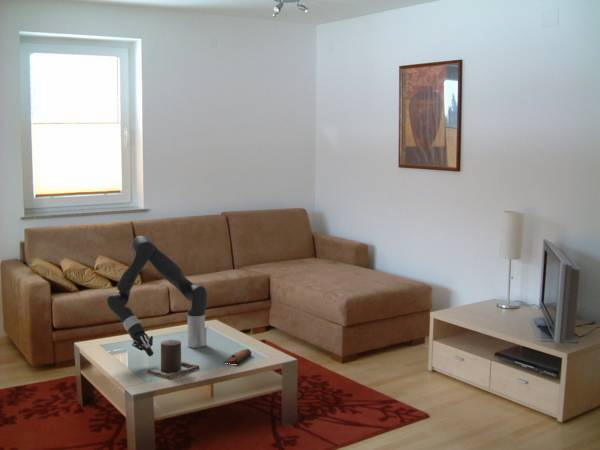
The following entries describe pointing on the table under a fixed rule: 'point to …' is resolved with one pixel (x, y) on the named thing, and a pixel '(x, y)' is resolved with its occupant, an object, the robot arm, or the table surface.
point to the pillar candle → (171, 356)
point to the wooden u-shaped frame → (191, 368)
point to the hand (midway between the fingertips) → (151, 355)
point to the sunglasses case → (238, 357)
